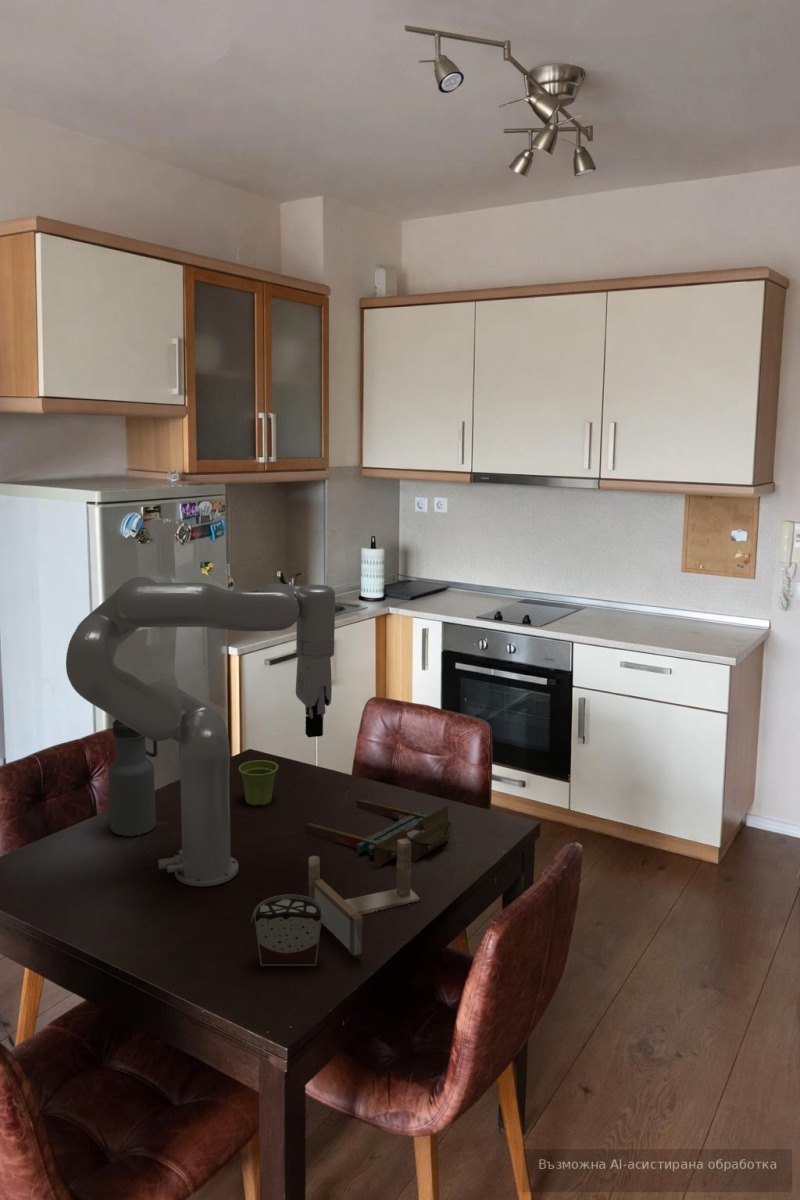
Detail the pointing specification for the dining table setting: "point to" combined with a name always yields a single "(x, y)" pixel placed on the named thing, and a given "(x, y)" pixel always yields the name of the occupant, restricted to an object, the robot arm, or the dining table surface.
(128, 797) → the water bottle
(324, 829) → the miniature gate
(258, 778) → the plant pot
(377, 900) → the gate frame
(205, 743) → the robot arm
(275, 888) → the dining table surface
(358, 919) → the panel
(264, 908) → the food container
